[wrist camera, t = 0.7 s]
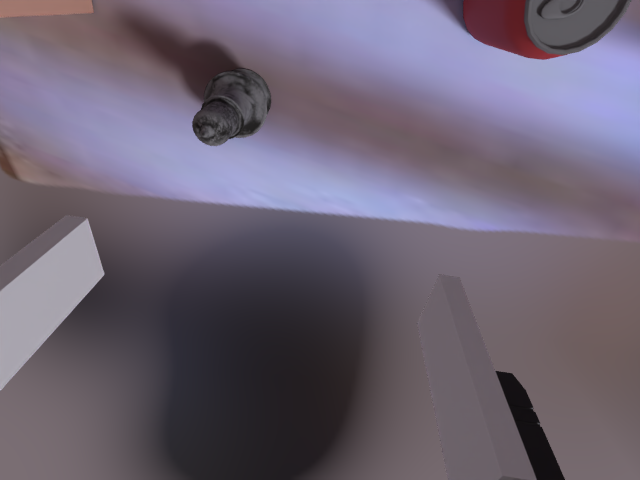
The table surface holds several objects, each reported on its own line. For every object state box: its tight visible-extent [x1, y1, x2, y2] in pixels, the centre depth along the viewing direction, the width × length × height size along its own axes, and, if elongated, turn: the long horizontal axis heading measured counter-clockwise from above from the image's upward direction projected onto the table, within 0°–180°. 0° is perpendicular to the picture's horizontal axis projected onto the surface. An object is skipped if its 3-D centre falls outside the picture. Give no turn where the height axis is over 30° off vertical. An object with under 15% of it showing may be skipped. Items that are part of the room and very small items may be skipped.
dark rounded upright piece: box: [192, 69, 271, 146], centre depth 30 cm, size 6×6×12 cm
